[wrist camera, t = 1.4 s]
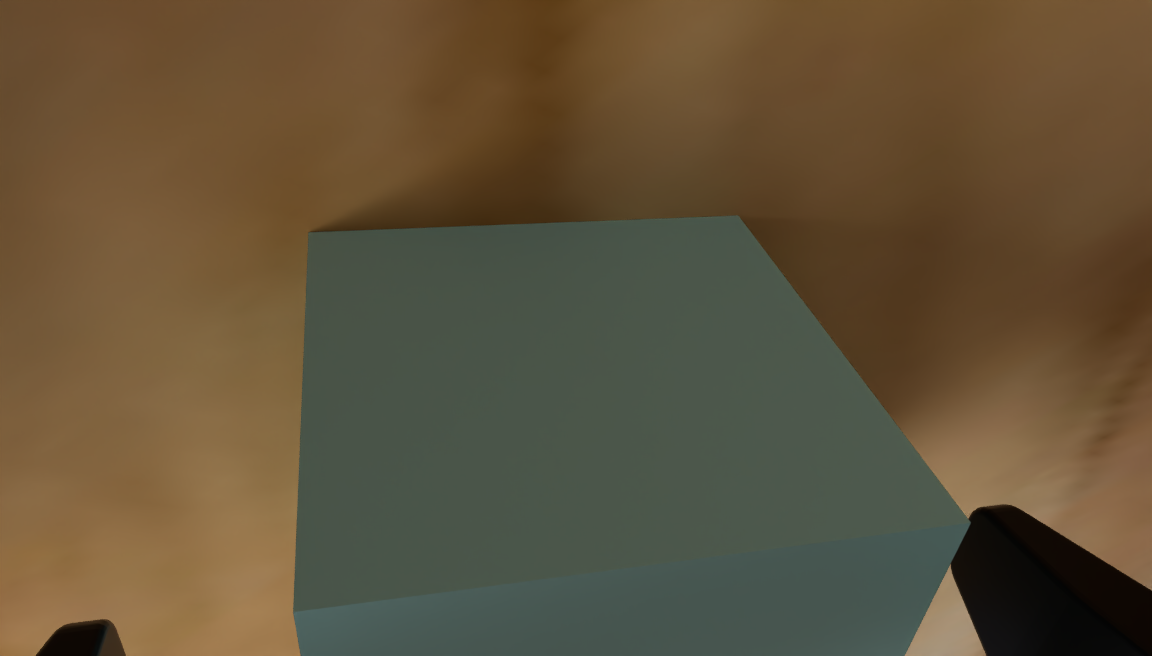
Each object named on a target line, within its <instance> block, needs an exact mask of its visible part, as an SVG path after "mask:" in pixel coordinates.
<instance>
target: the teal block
mask: <svg viewBox="0 0 1152 656" xmlns="http://www.w3.org/2000/svg"><path fill="white" fill-rule="evenodd" d="M970 524H971V522H970V521H969V520H968V518H967V517H966V516H965V514H964V513H963V512H962V510H961V509H960V508H959V506H958V505H957V504H956V502H955V501H954V500H953V499H952V497H951V496H950V495H949V493H948V492H947V491H946V489H945V488H944V487H943V485H942V484H941V483H940V481H939V480H938V479H937V477H936V476H935V475H934V473H933V472H932V471H931V469H930V468H929V467H928V465H927V464H926V463H925V462H924V460H923V459H922V458H921V456H920V455H919V454H918V452H917V451H916V450H915V448H914V447H913V446H912V444H911V443H910V442H909V440H908V439H907V438H906V436H905V435H904V434H903V432H902V431H901V430H900V428H899V427H898V426H897V425H896V423H895V422H894V421H893V419H892V418H891V417H890V415H889V414H888V413H887V411H886V410H885V409H884V407H883V406H882V405H881V403H880V402H879V401H878V399H877V398H876V397H875V395H874V394H873V393H872V392H871V390H870V389H869V388H868V386H867V385H866V384H865V382H864V381H863V380H862V378H861V377H860V376H859V374H858V373H857V372H856V370H855V369H854V368H853V366H852V365H851V364H850V362H849V361H848V360H847V358H846V357H845V356H844V355H843V353H842V352H841V351H840V349H839V348H838V347H837V345H836V344H835V343H834V341H833V340H832V339H831V337H830V336H829V335H828V333H827V332H826V331H825V329H824V328H823V327H822V325H821V324H820V323H819V321H818V320H817V319H816V318H815V316H814V315H813V314H812V312H811V311H810V310H809V308H808V307H807V306H806V304H805V303H804V302H803V300H802V299H801V298H800V296H799V295H798V294H797V292H796V291H795V290H794V288H793V287H792V286H791V284H790V283H789V282H788V281H787V279H786V278H785V277H784V275H783V274H782V273H781V271H780V270H779V269H778V267H777V266H776V265H775V263H774V262H773V261H772V259H771V258H770V257H769V255H768V254H767V253H766V251H765V250H764V249H763V248H762V246H761V245H760V244H759V242H758V241H757V240H756V238H755V237H754V236H753V234H752V233H751V232H750V230H749V229H748V228H747V226H746V225H745V224H744V222H743V221H742V220H741V218H740V217H739V216H713V217H687V218H662V219H636V220H611V221H585V222H560V223H534V224H509V225H483V226H458V227H432V228H407V229H381V230H356V231H330V232H309V233H308V258H307V283H306V308H305V333H304V358H303V382H302V407H301V432H300V457H299V482H298V507H297V531H296V556H295V581H294V606H293V614H294V619H295V625H296V631H297V637H298V642H299V648H300V654H301V656H905V654H906V652H907V650H908V648H909V646H910V644H911V642H912V640H913V638H914V636H915V634H916V632H917V630H918V628H919V626H920V624H921V622H922V620H923V618H924V616H925V614H926V612H927V610H928V608H929V606H930V604H931V602H932V600H933V598H934V596H935V594H936V592H937V590H938V588H939V586H940V584H941V582H942V580H943V578H944V576H945V574H946V572H947V570H948V568H949V566H950V564H951V562H952V560H953V558H954V556H955V554H956V552H957V550H958V548H959V546H960V544H961V542H962V540H963V538H964V536H965V534H966V532H967V530H968V528H969V526H970Z"/></svg>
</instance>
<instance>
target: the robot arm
mask: <svg viewBox="0 0 1152 656" xmlns="http://www.w3.org/2000/svg"><path fill="white" fill-rule="evenodd" d="M968 520H969V521H970V522H971V524H970V526H969V528H968V530H967V532H966V534H965V536H964V538H963V540H962V542H961V544H960V546H959V548H958V550H957V552H956V554H955V556H954V558H953V560H952V562H951V570H952V574H953V577H954V580H955V582H956V584H957V587H958V589H959V592H960V594H961V596H962V599H963V601H964V603H965V606H966V608H967V611H968V613H969V615H970V618H971V620H972V622H973V625H974V627H975V630H976V632H977V634H978V637H979V639H980V641H981V644H982V646H983V649H984V651H985V653H986V656H1152V591H1151V590H1150V589H1148V588H1147V587H1145V586H1143V585H1142V584H1140V583H1138V582H1137V581H1135V580H1134V579H1132V578H1130V577H1129V576H1127V575H1126V574H1124V573H1122V572H1121V571H1119V570H1117V569H1116V568H1114V567H1113V566H1111V565H1109V564H1108V563H1106V562H1105V561H1103V560H1101V559H1100V558H1098V557H1096V556H1095V555H1093V554H1092V553H1090V552H1088V551H1087V550H1085V549H1084V548H1082V547H1080V546H1079V545H1077V544H1075V543H1074V542H1072V541H1071V540H1069V539H1067V538H1066V537H1064V536H1063V535H1061V534H1059V533H1058V532H1056V531H1054V530H1053V529H1051V528H1050V527H1048V526H1046V525H1045V524H1043V523H1042V522H1040V521H1038V520H1037V519H1035V518H1033V517H1032V516H1030V515H1029V514H1027V513H1025V512H1024V511H1022V510H1020V509H1019V508H1017V507H1015V506H1012V505H994V506H987V507H980V508H977V509H976V510H974V511H973V512H972V513H971V515H970V517H969V519H968ZM36 656H126V654H125V652H124V649H123V646H122V643H121V641H120V638H119V635H118V633H117V630H116V628H115V626H114V624H113V623H112V622H111V621H109V620H107V619H101V620H93V621H85V622H77V623H70V624H66V625H64V626H62V627H60V628H59V629H58V630H56V631H55V632H54V633H53V635H52V636H51V637H50V638H49V639H48V641H47V642H46V643H45V644H44V646H43V647H42V648H41V649H40V651H39V652H38V653H37V654H36Z"/></svg>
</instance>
